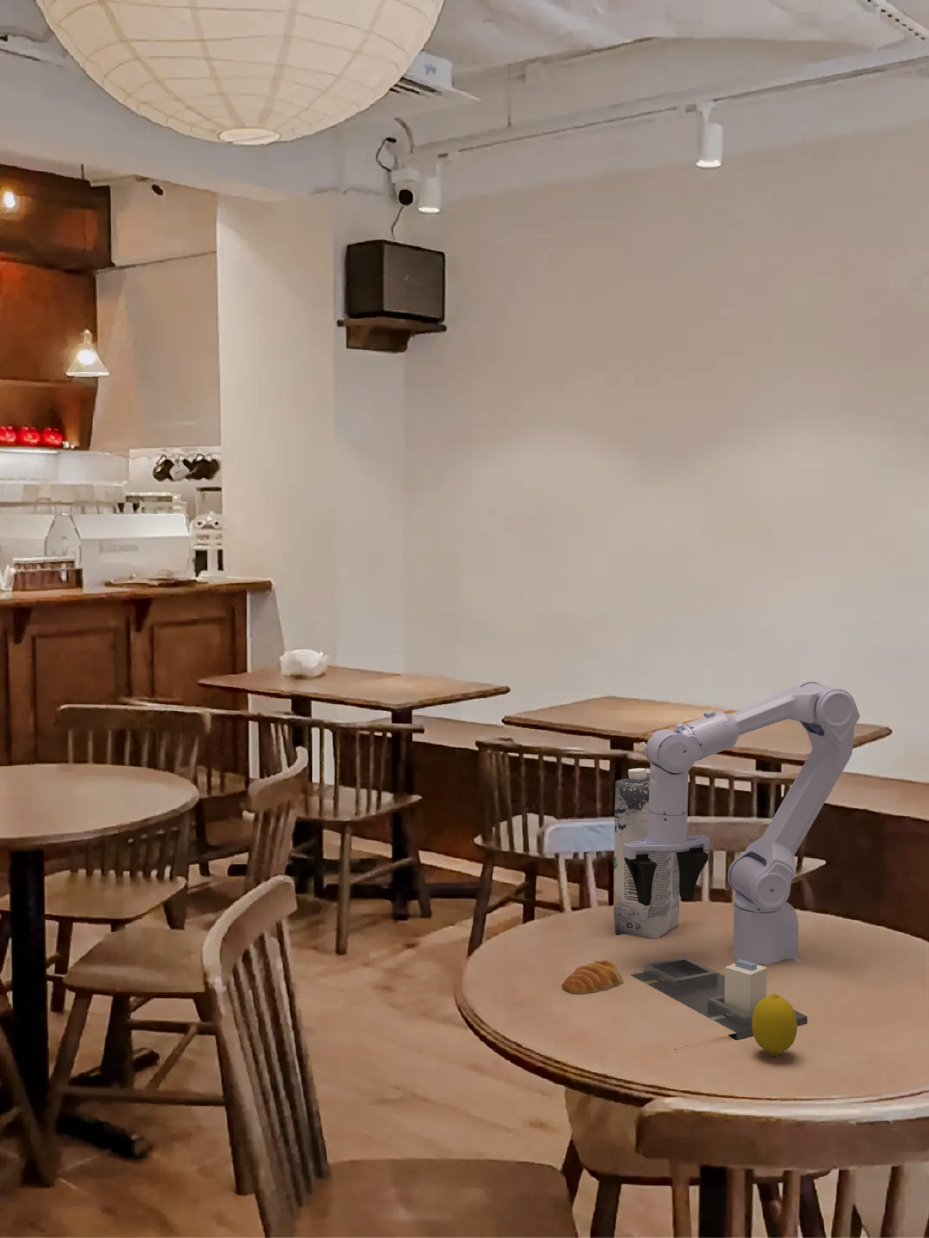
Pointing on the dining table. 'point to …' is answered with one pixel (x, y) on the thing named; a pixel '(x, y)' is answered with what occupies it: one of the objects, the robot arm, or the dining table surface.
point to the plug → (745, 985)
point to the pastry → (593, 978)
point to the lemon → (774, 1024)
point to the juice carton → (666, 876)
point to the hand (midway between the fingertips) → (665, 900)
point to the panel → (700, 992)
